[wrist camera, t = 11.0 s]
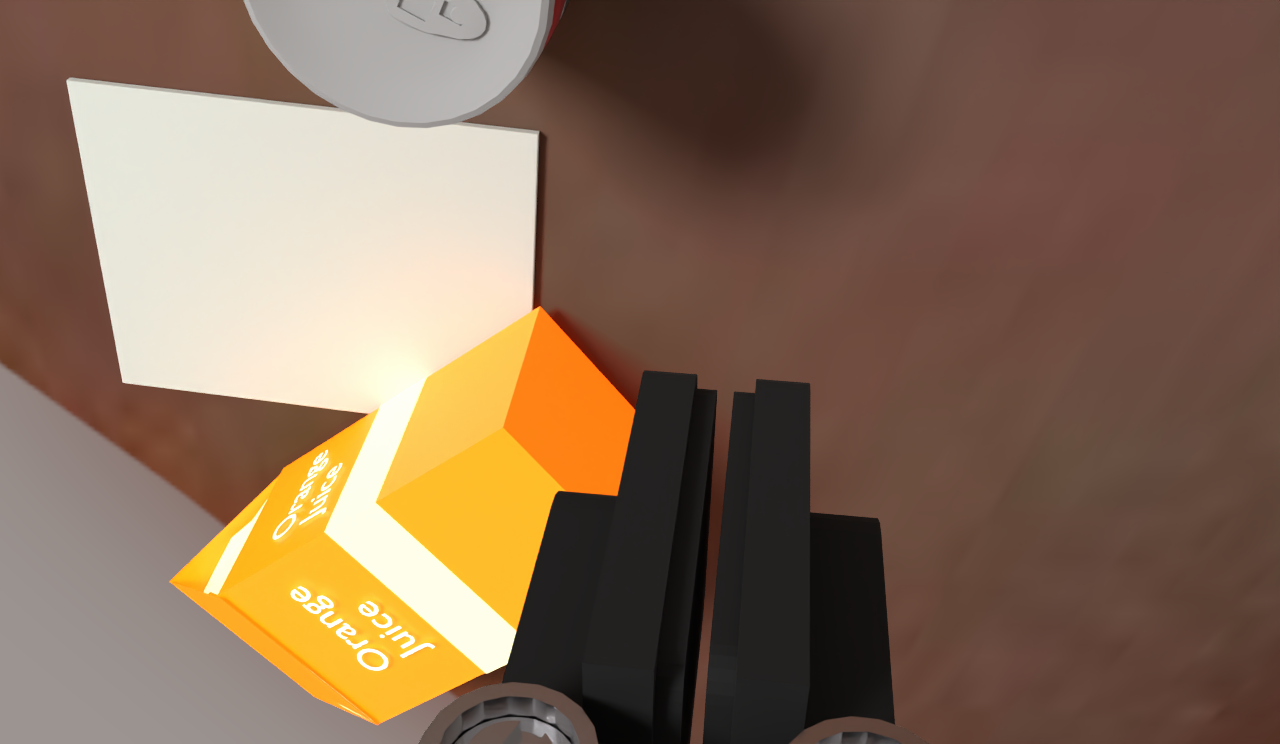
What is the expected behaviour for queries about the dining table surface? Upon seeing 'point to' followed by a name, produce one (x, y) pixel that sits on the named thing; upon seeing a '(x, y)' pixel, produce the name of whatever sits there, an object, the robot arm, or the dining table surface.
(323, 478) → the orange juice
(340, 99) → the canned food
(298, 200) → the mat
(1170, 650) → the dining table surface
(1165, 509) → the dining table surface
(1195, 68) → the dining table surface
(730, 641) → the robot arm
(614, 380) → the dining table surface
